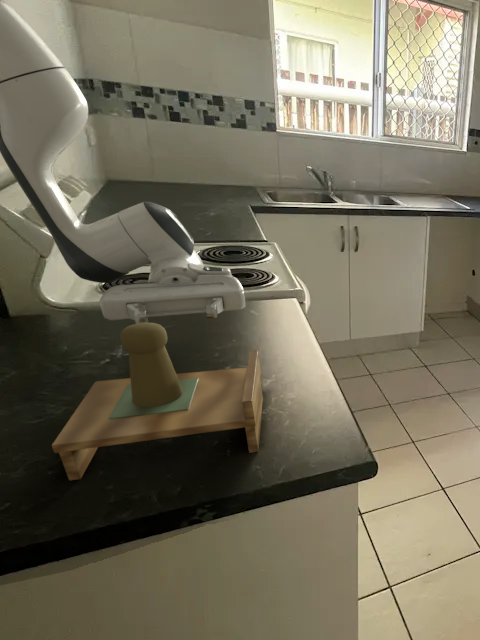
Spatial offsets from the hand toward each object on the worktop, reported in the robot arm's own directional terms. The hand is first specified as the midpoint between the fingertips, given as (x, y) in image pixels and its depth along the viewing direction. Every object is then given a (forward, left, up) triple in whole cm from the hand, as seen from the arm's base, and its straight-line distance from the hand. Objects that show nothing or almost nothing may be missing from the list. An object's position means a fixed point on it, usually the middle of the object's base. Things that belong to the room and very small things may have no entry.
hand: (177, 316), depth 76 cm
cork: (-2, -12, -8) cm, 14 cm away
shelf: (0, -13, -14) cm, 19 cm away
